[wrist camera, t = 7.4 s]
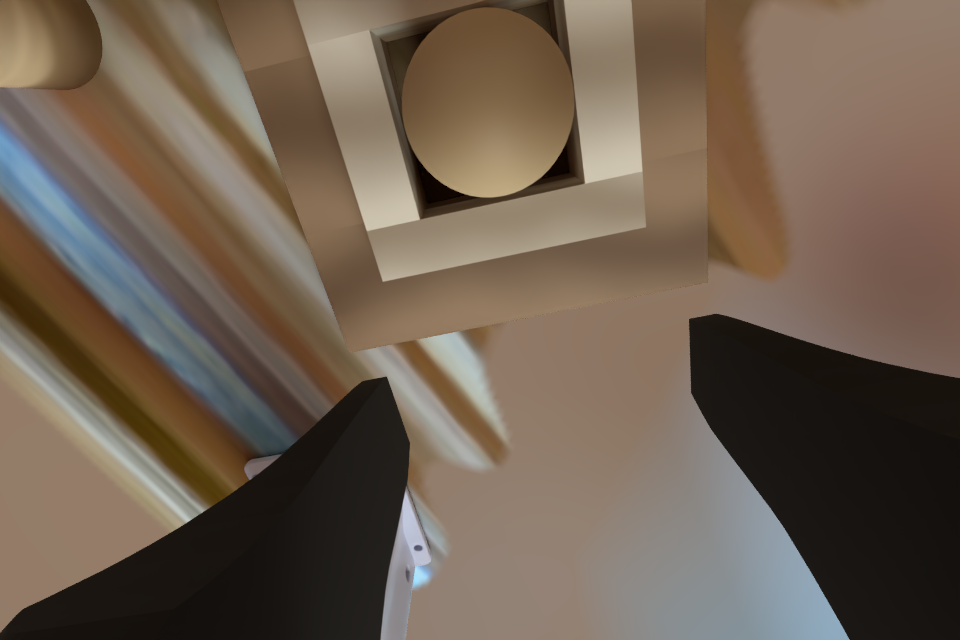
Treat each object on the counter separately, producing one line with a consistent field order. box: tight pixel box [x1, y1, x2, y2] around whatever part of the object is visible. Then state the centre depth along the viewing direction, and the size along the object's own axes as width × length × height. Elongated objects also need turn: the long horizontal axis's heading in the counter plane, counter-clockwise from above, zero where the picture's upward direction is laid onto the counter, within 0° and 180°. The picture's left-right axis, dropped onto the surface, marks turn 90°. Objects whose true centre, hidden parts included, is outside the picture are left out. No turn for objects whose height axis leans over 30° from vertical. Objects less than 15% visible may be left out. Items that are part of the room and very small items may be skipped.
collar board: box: [217, 0, 708, 353], centre depth 17 cm, size 17×16×3 cm
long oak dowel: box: [402, 7, 574, 197], centre depth 14 cm, size 4×4×8 cm
